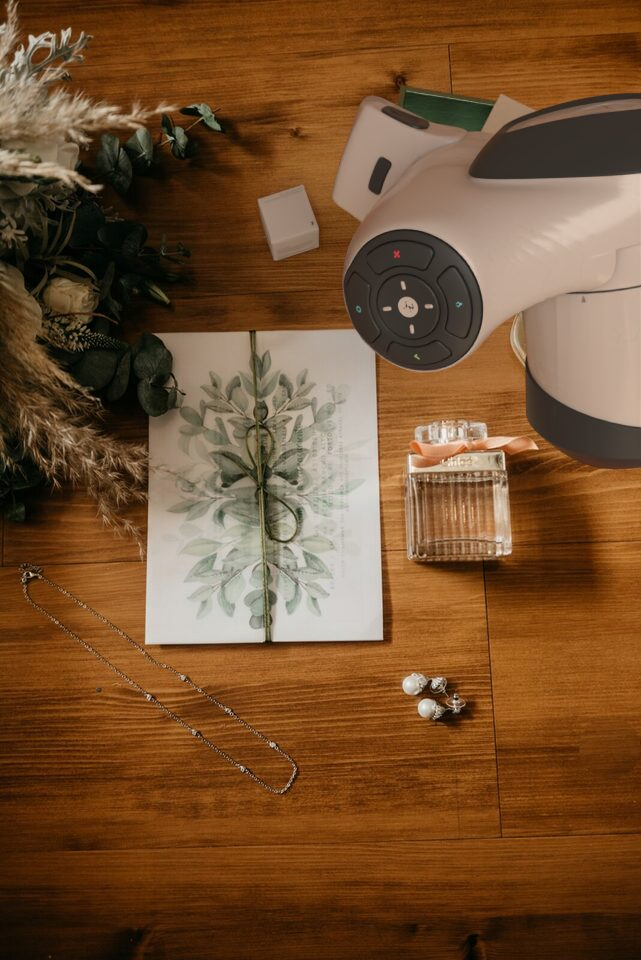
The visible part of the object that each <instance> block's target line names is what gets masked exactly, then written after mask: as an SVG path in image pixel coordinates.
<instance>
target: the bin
mask: <svg viewBox="0 0 641 960" xmlns="http://www.w3.org/2000/svg"><path fill="white" fill-rule="evenodd" d="M496 101H497V100H493V99H488V98H482V97H475V96H469V95H463V94H457V93H451V92H444V91H439V90H432V89H426V88H418V87H413V86H407V85H403V84H400V87H399V93H398V98H397V104H396V105H398V106H400V107H402V108H404V109H406V110H408V111H410V112H412V113H414V114H416V115H418V116H420V117H422V118H424V119H426V120H428V121H430V122H432V123H436V124H441V125H447V126H453V127H459V128H462V129H465V130H466V131H467V132H472V131H479V132H481V130H482V128H483V126H484V124H485V122H486V120H487V119H488V117H489V115H490V113H491V111H492V109H493V107H494V105H495V103H496Z"/></svg>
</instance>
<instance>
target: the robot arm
mask: <svg viewBox="0 0 641 960" xmlns="http://www.w3.org/2000/svg"><path fill="white" fill-rule="evenodd" d="M346 138H347V139H346V141H345V145H344V148H343V151H342V153H341V157H340V159H339V162H338V168H337V171H336V174H335V179H334V184H333V186H332V193H331V200H332V201H333V202H334V204H336V205H337V206H338V207H339V208H341V209H342V210H344V211H345V212H347V213H348V214H349V215H350V216H352V217H353V218H355V219H356V220H358V221H359V222H360V223H359V225H358V227H357V228H356V229H355V232H354V234H353V235H352V238H351V240H350V243H349V245H348V248H347V250H346V254H345V257H344V262H343V267H342V277H341V287H342V289H341V290H342V297H343V301H344V306H345V308H346V313H347V314H348V317H349V319H350V322H351V324H352V326H353V327H354V329H355V331H356V333H357V334H358V336H359V337H360V338H361V340H362V341H363V342H364V343H365V344H366V346H368V348H370V349H371V350H372V351H373V352H374V353H376V354H377V355H378V356H379V357H381V358H382V359H383V360H384V361H386V362H388V363H390V364H391V365H394V366H396V367H398V368H401V369H403V370H407V371H409V372H410V371H411V372H416V373H434V372H441V371H444V370H449V369H450V368H453V367H455V366H456V365H458V364H460V363H462V362H463V361H465V360H466V359H468V358H469V357H470V356H472V355H473V354H474V353H475V352H476V351H477V350H478V349H479V348H480V347H481V346H482V345H483V344H484V343H485V341H486V340H487V339H488V338H489V337H490V335H491V334H492V333H493V332H494V331H495V330H496V329H497V328H498V327H500V326H501V325H503V324H504V323H505V322H506V321H508V320H509V319H511V318H513V317H514V316H516V315H518V314H520V313H521V317H522V324H523V325H522V326H523V333H524V342H525V343H524V344H525V351H526V355H525V358H524V359H525V360H524V376H525V377H524V378H525V381H524V386H525V388H524V389H525V390H524V391H525V416H526V420H527V422H528V424H529V425H530V427H531V429H532V430H534V431H535V433H537V434H538V435H539V436H540V437H541V438H542V439H543V440H545V441H546V442H547V443H548V444H549V445H551V446H552V447H553V448H555V449H556V450H558V451H559V452H561V453H562V454H564V456H566V457H568V458H570V459H572V460H574V461H576V462H579V463H581V464H582V465H586V466H588V467H591V468H595V469H603V470H630V469H641V92H621V93H620V92H619V93H610V94H602V95H595V96H589V97H584V98H578V99H574V100H573V99H572V100H569V101H565V102H561V103H558V104H553V105H551V106H547V107H544V108H541V109H538V110H536V111H535V112H532V113H529V114H526V115H524V116H521V117H519V118H516V119H514V120H512V121H510V122H508V123H507V124H505V125H504V126H503V127H502V128H501V129H500V130H499V131H498V132H497V133H496V134H492V133H487V132H479V131H472V132H467V131H466V130H465V129H462V128H459V127H453V126H447V125H441V124H436V123H432V122H430V121H428V120H426V119H424V118H422V117H420V116H418V115H416V114H414V113H412V112H410V111H408V110H406V109H404V108H402V107H400V106H398V105H397V104H395V103H394V102H392V101H389V100H388V99H386V98H384V97H380V96H377V95H372V94H371V95H367V96H366V97H364V98H363V99H362V100H361V102H360V104H359V106H358V108H357V111H356V114H355V117H354V119H353V122H352V124H351V127H350V130H349V133H348V136H347V137H346Z"/></svg>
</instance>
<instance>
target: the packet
mask: <svg viewBox="0 0 641 960" xmlns="http://www.w3.org/2000/svg"><path fill="white" fill-rule="evenodd" d="M495 101H496V103H495V105H494V107H493V109H492V111H491V113H490V115H489V117H488V119H487V120H486V122H485V124H484V126H483V128H482V130H481V132H487V133H492V134H496V133H497V132H498V131H499V130H500V129H501V128H502V127H503V126H504V125H505V124H507V123H508V122H510V121H512V120H514V119H516V118H519V117H521V116H524V115H526V114H529V113H532V112H535V111H537V110H536V109H534V108H532V107H529V106H527V105H526V104H524V103H521V102H519V101H517V100H515V99H513V98H512V97H509V96H507V95H505V94H503V93H500V94H499V95H498V98H497V100H495Z"/></svg>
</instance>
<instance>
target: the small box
mask: <svg viewBox="0 0 641 960" xmlns="http://www.w3.org/2000/svg"><path fill="white" fill-rule="evenodd" d="M257 206H258V211H259V217H260V218H259V219H260V222H261V225H262V229H263V231H264V235H265V239H266V242H267V244H268V247H269V251H270V254H271V256H272V261H274V262H276V261H280V260H284V259H286V258H287V259H288V258H290V257H292V256H297V255H299V254H303V253H305V252H308V251H312V250H314V249H317V248H320V227H319V224H318V222H317V221H318V220H317V219H316V216H315V213H314V210H313V207H312V205H311V202H310V200H309V197H308V193H307V191H306V188H305V185H304V184H301V185H297V186H294V187H291V188H288V189H284V190H281V191H279V192H276V193H272V194H270V195H267V196H266V195H265V196H263V197H260V198H257Z"/></svg>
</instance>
